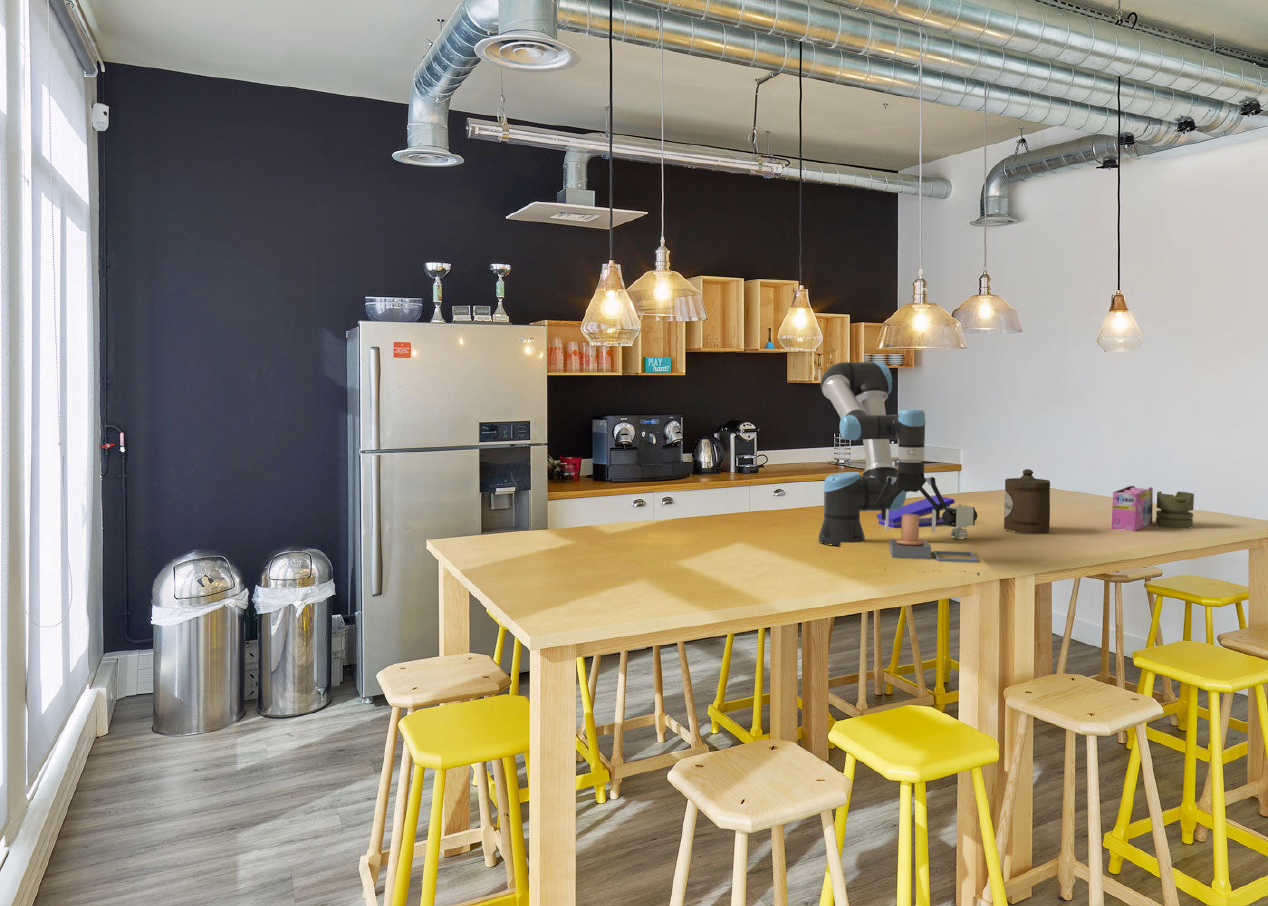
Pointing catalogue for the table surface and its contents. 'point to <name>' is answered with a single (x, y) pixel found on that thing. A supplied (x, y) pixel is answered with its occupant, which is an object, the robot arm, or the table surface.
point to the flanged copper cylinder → (910, 530)
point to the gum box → (1132, 508)
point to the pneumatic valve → (959, 519)
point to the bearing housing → (910, 550)
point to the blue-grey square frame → (955, 554)
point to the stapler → (915, 512)
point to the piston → (1175, 510)
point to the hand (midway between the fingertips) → (910, 530)
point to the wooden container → (1027, 504)
